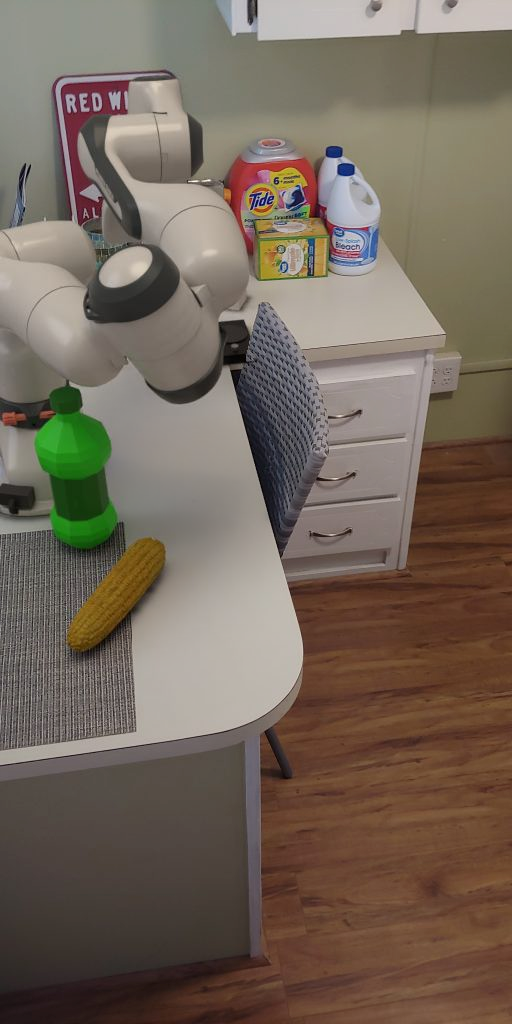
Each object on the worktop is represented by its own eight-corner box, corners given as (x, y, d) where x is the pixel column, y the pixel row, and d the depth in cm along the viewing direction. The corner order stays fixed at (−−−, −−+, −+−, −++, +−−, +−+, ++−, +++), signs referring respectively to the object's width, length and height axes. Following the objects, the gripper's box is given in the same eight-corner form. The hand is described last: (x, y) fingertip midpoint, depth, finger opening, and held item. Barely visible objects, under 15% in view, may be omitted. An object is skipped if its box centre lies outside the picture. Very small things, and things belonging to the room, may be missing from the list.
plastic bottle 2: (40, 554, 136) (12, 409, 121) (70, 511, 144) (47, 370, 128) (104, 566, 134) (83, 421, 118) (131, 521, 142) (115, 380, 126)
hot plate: (256, 361, 180) (256, 347, 178) (174, 369, 178) (174, 355, 176) (244, 328, 191) (243, 314, 189) (166, 335, 189) (165, 321, 187)
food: (139, 557, 136) (135, 525, 132) (173, 567, 134) (171, 536, 130) (59, 655, 121) (53, 623, 117) (96, 669, 119) (91, 636, 115)
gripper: (220, 171, 154) (222, 250, 163) (96, 179, 151) (105, 259, 160) (226, 184, 149) (228, 265, 158) (98, 192, 146) (107, 275, 155)
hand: (165, 262), depth 159 cm, fingers closed on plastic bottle, 6 cm apart
